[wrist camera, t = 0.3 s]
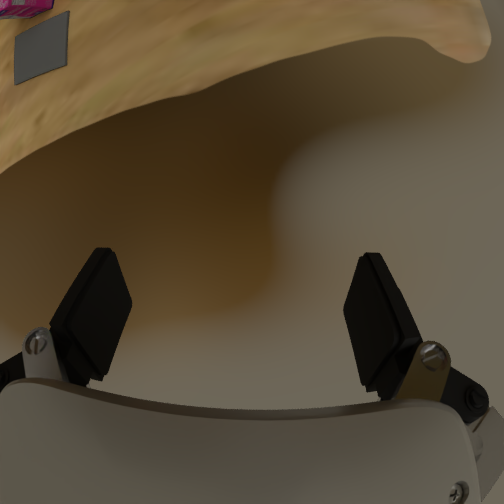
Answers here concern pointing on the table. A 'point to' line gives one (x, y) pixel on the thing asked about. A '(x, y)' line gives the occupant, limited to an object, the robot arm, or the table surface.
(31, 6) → the supplement box
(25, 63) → the mat
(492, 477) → the robot arm
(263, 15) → the table surface
